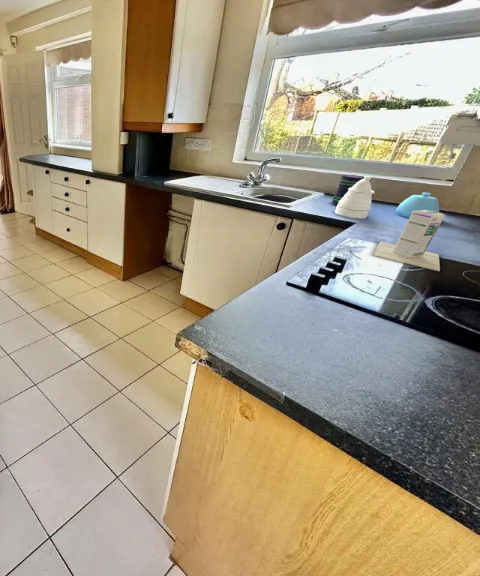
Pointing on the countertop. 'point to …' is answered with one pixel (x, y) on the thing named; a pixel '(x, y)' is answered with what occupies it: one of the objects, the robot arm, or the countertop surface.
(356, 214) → the honey pot
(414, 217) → the syrup box
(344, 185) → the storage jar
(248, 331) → the countertop surface
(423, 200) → the sugar bowl
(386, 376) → the countertop surface
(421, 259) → the wooden board
